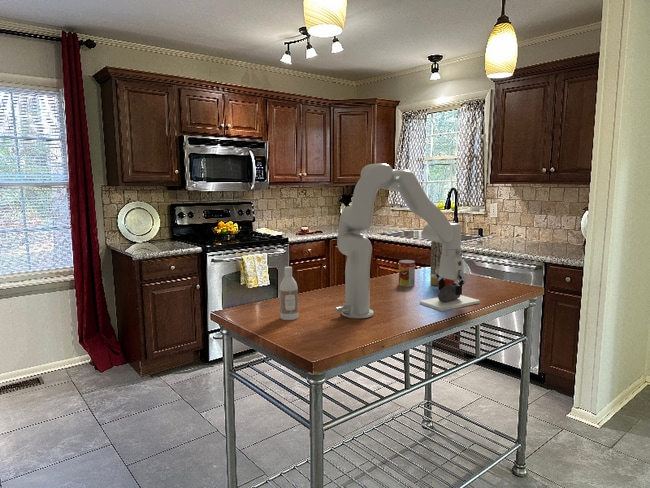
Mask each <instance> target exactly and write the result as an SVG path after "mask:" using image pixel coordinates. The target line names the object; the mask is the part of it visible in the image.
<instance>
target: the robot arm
mask: <svg viewBox="0 0 650 488" xmlns="http://www.w3.org/2000/svg"><path fill="white" fill-rule="evenodd" d="M381 189H382V190H388V191H392V192H394V191H395V192H399V194H400V196H401V198H402V199H403V201H404V203H405V204H406V206H407V207H408V209H409V211H410V212H412V213H413V214H415V215H416V216H418V217H419V218H421V219H423V220H424V221H425V222H426V223H427V224H425V226H424V227H423V228H422V235H423V237H424V238H425V239H426V240H428V241H430V242H431V241H434V242H439V243H442V255H441V258H440V265H439V268H438V269H436V270H435V273H436V277H437V278H438V281H439V287H438V291H440V290H441V289H442V288H443V287H445V281H444V279H449V280H453V281H455V283H456V284H457V286H456V291H455V295H463V286H464V285H465V284H466V282H467V280H468V275H466V273H464V261H463V257H462V256H461V255H462V254H463V251H462V250H461V247H462V246H461V245H462V225H461V224H460V223H458V222H450V221H449V219H448V217H447V216H446V215H445V214H444V212H443V211H442V210H441V209H440V208H439V207H438V206H437V205H436V204H435V203H434V202H433V201H432V200H430V199H429V197H428V196H427V194H426V192H425V190H424V188H423V187H422V185H421V184H420V182H419V180H418V179H417V177H416V175H415V174H414V172H412V170H409V169H393V167H392V166H391V165H389V164H387V163H381V162H379V163H371V164H366V165H365V166H364V167H362V169H361V171H360V177H359V179H358V181H357V183H356V185H355V187H354V190H353V194H352V200H351V201H352V202H351V205H348V206H347V207H345V208H344V209H343V210H342V212H341V214H340V216H339V221H338V223H339V224H338V229H337V238H336V239H337V242H336V245H337V249H338V250H339V252H340V253H341V254H343V255H345V256H346V261H345V270H344V276H345V278H344V279H345V280H344V281H345V282H344V283H345V286H344V287H345V291H344V292H345V296H344V297H345V302H343V303H342V305H341V306H336V307H334V311H335V313H339V312H341V315H342V316H343V317H345V318H349V319H367V318H371V317H372V316H374V310H373V309H371V308H370V307H371V306H370V304H371V303H370V301H371V300H370V299H371V298H370V297H371V294H370V290H371V286H370V285H371V274H370V273H371V270H370V269H371V259H372V253H373V246H372V242H371V241H370V239H369V238H368V237H366V236H365V235H362V234H361V232H365V231H368V230H369V229H370V228H371V226H372V223H373V219H374V218H373V216H374V209H375V201H376V196H377V194H378V192H379V191H380V190H381Z"/></svg>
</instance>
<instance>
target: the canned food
mask: <svg viewBox="0 0 650 488" xmlns="http://www.w3.org/2000/svg"><path fill="white" fill-rule="evenodd" d="M415 277H416V261H415V260H412V259H401V260H398V285H399V286H400V287H403V288H404V287H407V288H408V287H415V283H416V282H415V281H416V280H415Z"/></svg>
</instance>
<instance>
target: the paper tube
mask: <svg viewBox="0 0 650 488" xmlns="http://www.w3.org/2000/svg"><path fill="white" fill-rule="evenodd" d="M441 255H442V243H439V242H434V241H430V273H429V274H430V276H429V277H430V278H429V279H430V282H429V284H430V285H432V286H435V287H438V278H437V277H436V273H435V270H436V269H438V268H439V265H440V258H441Z"/></svg>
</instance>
